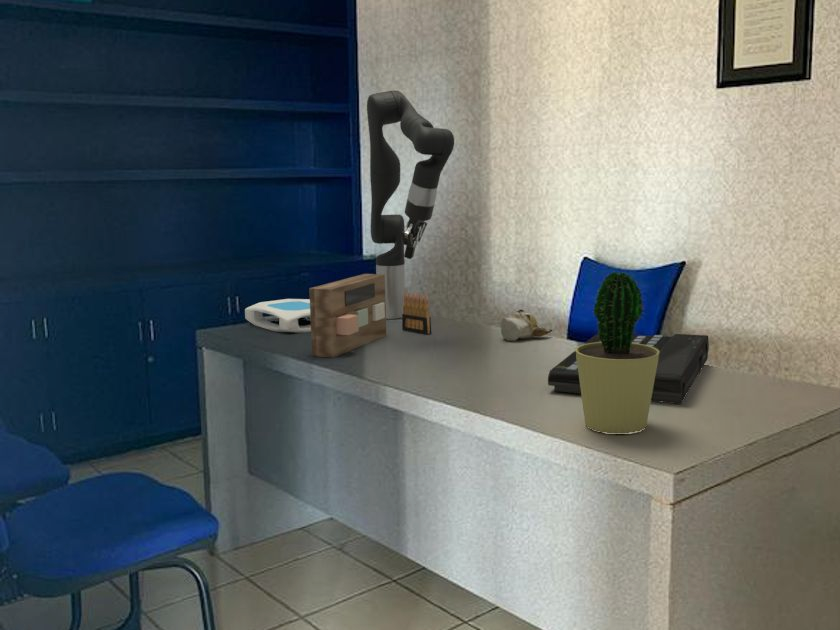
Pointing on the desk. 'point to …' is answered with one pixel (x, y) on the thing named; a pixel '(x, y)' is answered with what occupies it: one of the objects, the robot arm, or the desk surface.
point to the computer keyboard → (673, 371)
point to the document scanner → (280, 315)
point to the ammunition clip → (416, 314)
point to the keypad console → (341, 301)
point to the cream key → (378, 311)
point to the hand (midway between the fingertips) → (408, 257)
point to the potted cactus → (617, 361)
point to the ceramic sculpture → (521, 327)
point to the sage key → (362, 316)
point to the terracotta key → (347, 324)
